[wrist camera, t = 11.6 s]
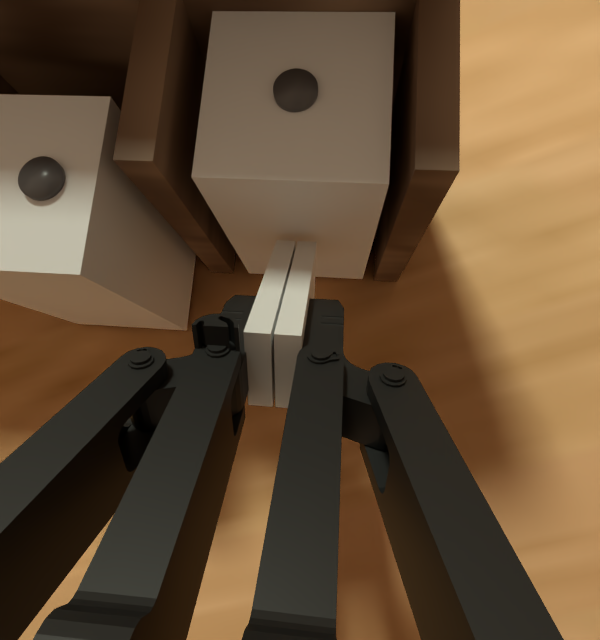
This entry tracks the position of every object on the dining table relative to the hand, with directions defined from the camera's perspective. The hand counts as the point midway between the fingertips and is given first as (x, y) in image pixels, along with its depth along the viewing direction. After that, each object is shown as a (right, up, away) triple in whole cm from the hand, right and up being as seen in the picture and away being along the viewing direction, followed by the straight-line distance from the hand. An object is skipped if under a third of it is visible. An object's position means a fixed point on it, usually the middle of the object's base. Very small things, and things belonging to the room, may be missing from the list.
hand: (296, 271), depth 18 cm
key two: (-9, +1, +6) cm, 10 cm away
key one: (+1, +3, +6) cm, 6 cm away
